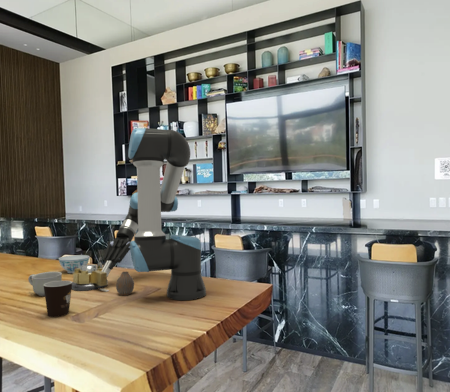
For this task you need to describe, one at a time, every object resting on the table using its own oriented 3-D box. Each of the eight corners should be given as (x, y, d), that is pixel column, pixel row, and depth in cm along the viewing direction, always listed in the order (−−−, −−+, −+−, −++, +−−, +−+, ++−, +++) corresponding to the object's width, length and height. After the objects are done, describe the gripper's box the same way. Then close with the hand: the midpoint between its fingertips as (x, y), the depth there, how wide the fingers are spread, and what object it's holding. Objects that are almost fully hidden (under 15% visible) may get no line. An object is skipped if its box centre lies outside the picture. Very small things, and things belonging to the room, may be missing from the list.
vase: (129, 296, 137) (128, 274, 137) (112, 296, 139) (112, 273, 139) (137, 292, 144) (136, 270, 144) (121, 291, 145) (121, 270, 146)
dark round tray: (104, 289, 148) (104, 268, 148) (66, 291, 146) (66, 269, 146) (110, 281, 163) (110, 262, 163) (75, 283, 161) (75, 263, 161)
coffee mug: (53, 319, 112) (53, 288, 112) (38, 315, 116) (38, 284, 116) (85, 309, 121) (85, 280, 122) (70, 306, 126) (70, 277, 126)
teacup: (67, 292, 146) (67, 272, 146) (44, 299, 136) (44, 278, 136) (44, 288, 151) (44, 270, 151) (20, 295, 142) (20, 275, 142)
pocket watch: (82, 279, 169) (81, 258, 169) (94, 275, 177) (94, 255, 177) (95, 280, 166) (95, 259, 166) (107, 276, 174) (107, 256, 174)
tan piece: (69, 280, 155) (69, 268, 155) (96, 276, 163) (96, 264, 163) (89, 288, 141) (89, 275, 141) (117, 282, 149) (117, 270, 149)
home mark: (109, 291, 146) (109, 290, 146) (106, 291, 145) (106, 291, 145) (102, 289, 149) (102, 288, 149) (99, 289, 148) (99, 289, 148)
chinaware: (69, 269, 195) (69, 255, 195) (95, 269, 193) (94, 255, 193) (52, 274, 180) (52, 259, 180) (79, 275, 178) (79, 259, 178)
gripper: (142, 236, 166) (120, 281, 151) (119, 236, 171) (95, 278, 156) (135, 226, 161) (112, 271, 146) (111, 226, 166) (86, 269, 151)
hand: (103, 275), depth 151 cm, fingers closed
